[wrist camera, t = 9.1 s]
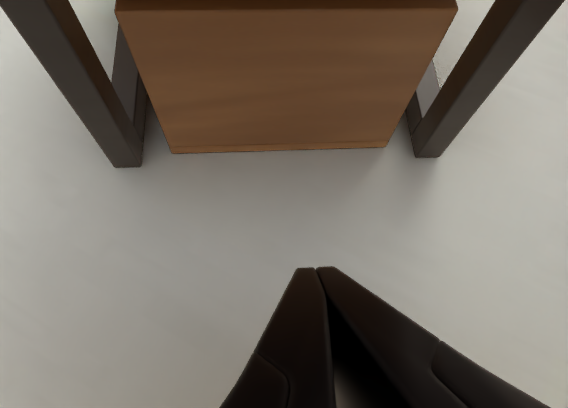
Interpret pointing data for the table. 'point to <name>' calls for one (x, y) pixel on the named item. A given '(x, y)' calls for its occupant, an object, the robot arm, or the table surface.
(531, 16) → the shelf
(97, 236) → the table surface
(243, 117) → the wood grain slab box
